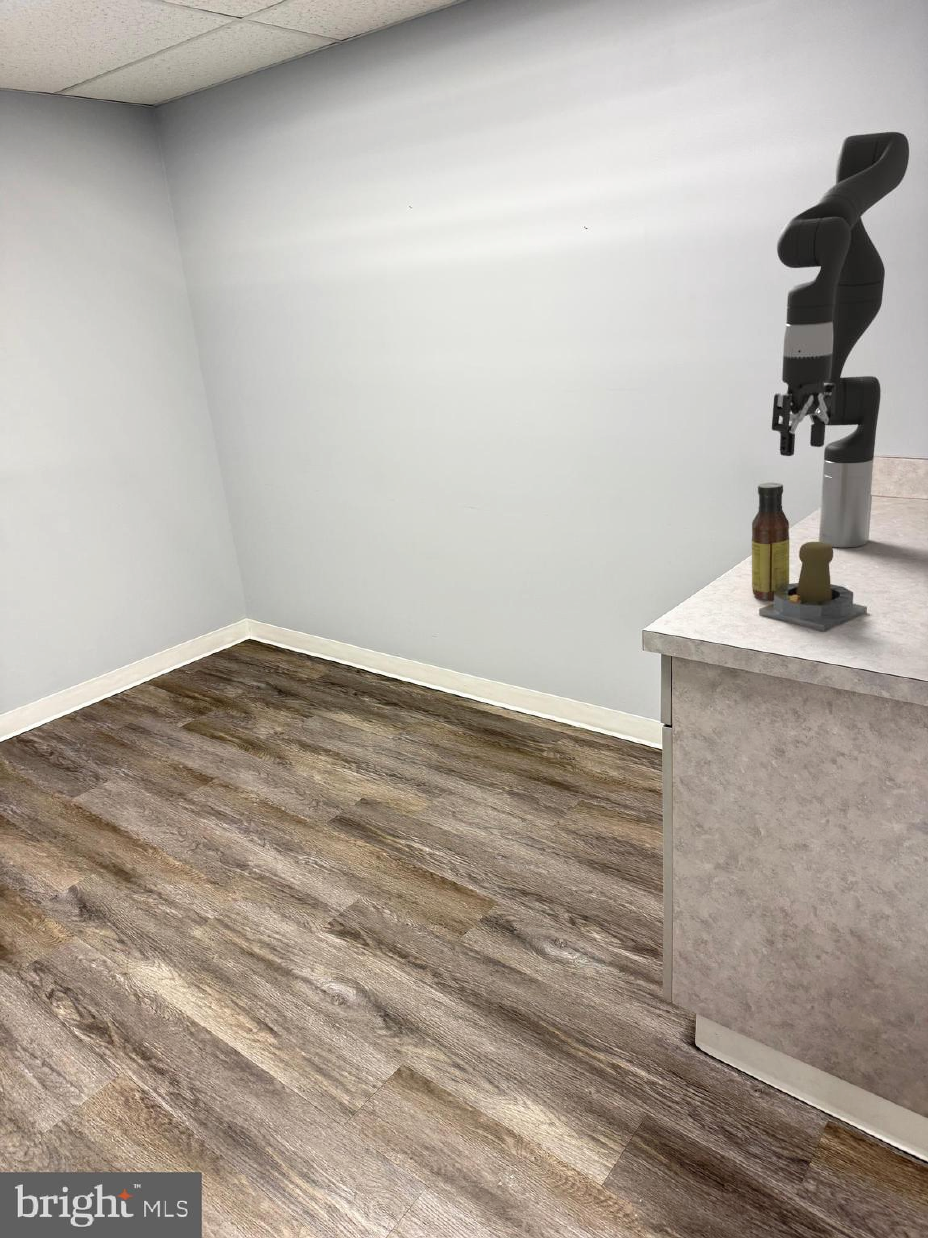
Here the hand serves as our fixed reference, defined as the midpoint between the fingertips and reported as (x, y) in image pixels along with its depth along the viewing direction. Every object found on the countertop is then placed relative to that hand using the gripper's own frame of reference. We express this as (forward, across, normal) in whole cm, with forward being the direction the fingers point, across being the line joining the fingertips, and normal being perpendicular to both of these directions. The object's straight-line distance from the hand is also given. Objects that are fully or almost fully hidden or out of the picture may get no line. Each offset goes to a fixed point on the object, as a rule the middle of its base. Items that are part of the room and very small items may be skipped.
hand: (802, 450), depth 153 cm
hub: (+24, -10, -10) cm, 28 cm away
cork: (+23, -10, -10) cm, 27 cm away
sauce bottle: (+25, -7, +1) cm, 26 cm away
